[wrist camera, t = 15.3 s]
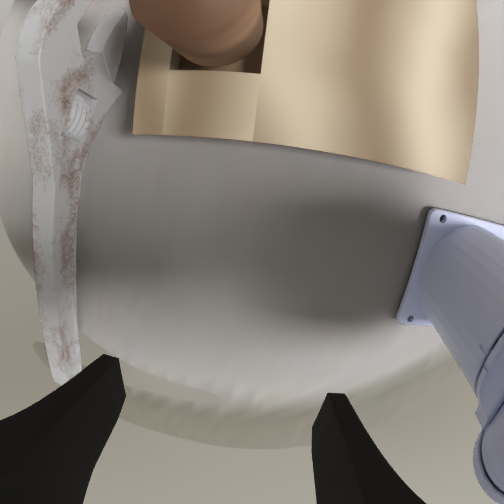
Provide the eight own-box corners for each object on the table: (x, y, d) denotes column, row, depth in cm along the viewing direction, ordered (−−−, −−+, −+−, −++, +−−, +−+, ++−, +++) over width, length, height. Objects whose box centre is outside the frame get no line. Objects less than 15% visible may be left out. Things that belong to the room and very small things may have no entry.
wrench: (80, 347, 27) (130, -3, 12) (95, 354, 27) (156, -1, 12) (42, 406, 20) (43, -37, 5) (59, 416, 20) (75, -43, 5)
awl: (268, 9, 11) (263, -62, 5) (260, 78, 13) (249, 37, 7) (191, 7, 12) (142, -54, 6) (181, 75, 13) (119, 41, 7)
